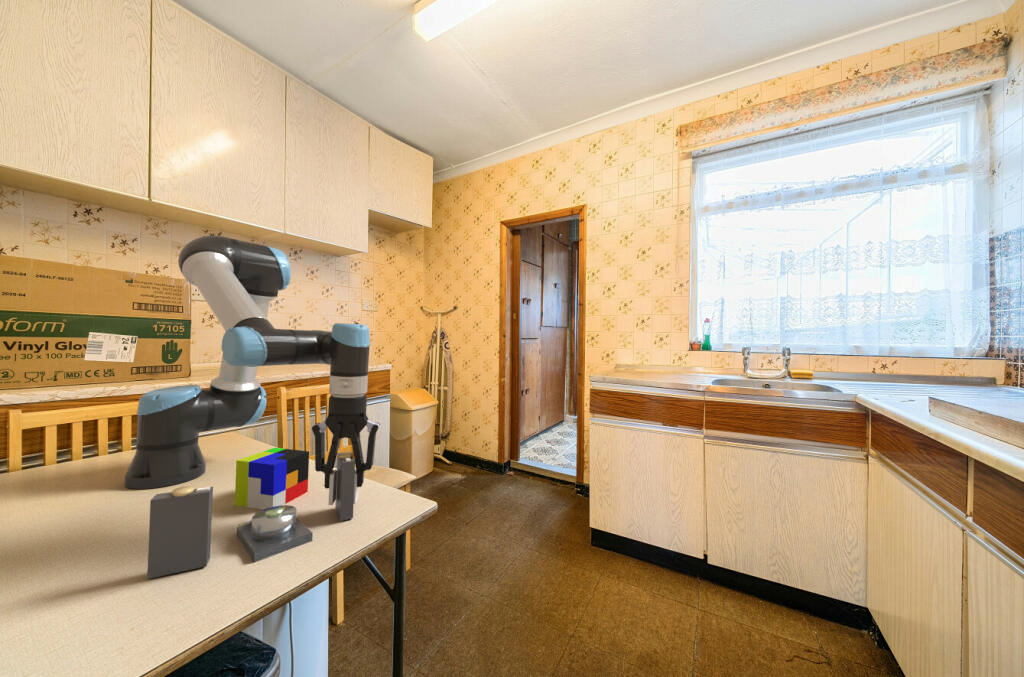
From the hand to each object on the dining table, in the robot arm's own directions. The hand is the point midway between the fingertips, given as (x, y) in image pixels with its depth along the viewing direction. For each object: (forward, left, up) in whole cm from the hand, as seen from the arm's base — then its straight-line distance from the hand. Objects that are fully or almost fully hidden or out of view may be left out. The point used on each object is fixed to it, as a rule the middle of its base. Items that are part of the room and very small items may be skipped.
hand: (343, 501), depth 77 cm
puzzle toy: (-18, -8, -3) cm, 20 cm away
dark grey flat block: (+1, -26, -2) cm, 26 cm away
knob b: (+1, 0, -2) cm, 3 cm away
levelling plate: (+1, -13, -2) cm, 13 cm away
